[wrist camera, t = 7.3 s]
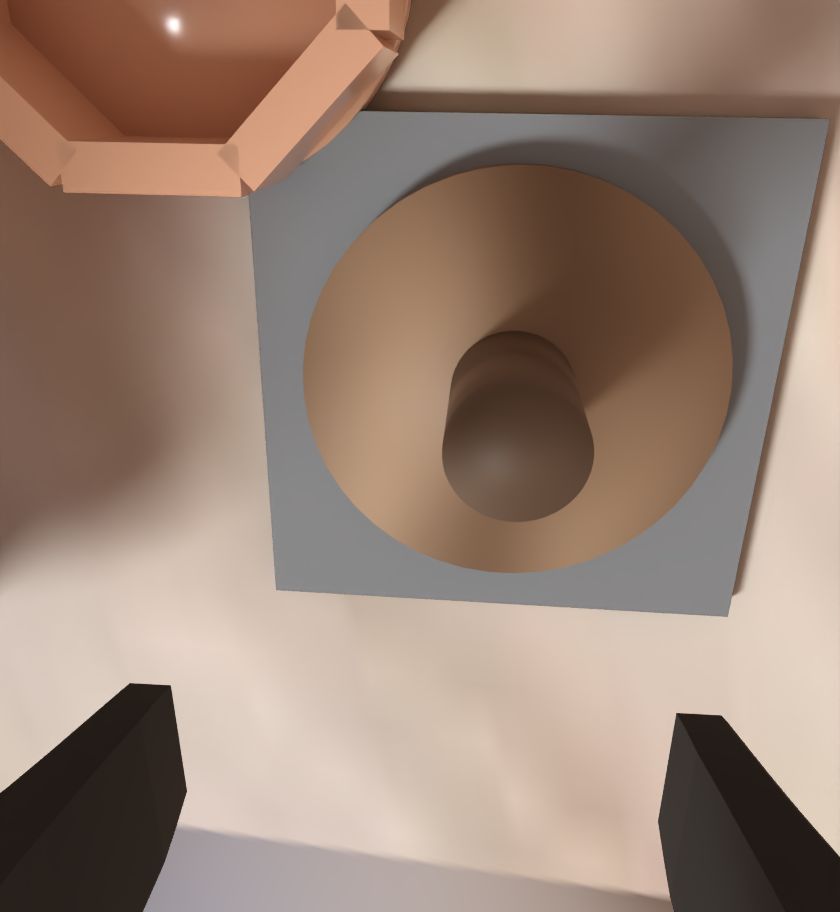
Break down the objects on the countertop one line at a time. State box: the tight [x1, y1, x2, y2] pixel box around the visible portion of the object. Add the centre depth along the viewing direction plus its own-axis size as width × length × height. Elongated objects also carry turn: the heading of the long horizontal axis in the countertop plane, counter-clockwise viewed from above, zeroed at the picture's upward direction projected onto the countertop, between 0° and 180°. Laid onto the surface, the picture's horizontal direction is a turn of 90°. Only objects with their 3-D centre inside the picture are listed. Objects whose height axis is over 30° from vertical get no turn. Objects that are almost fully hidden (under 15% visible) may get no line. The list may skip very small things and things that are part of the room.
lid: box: [303, 163, 733, 573], centre depth 17 cm, size 10×10×4 cm
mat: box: [249, 111, 830, 617], centre depth 19 cm, size 12×12×1 cm
